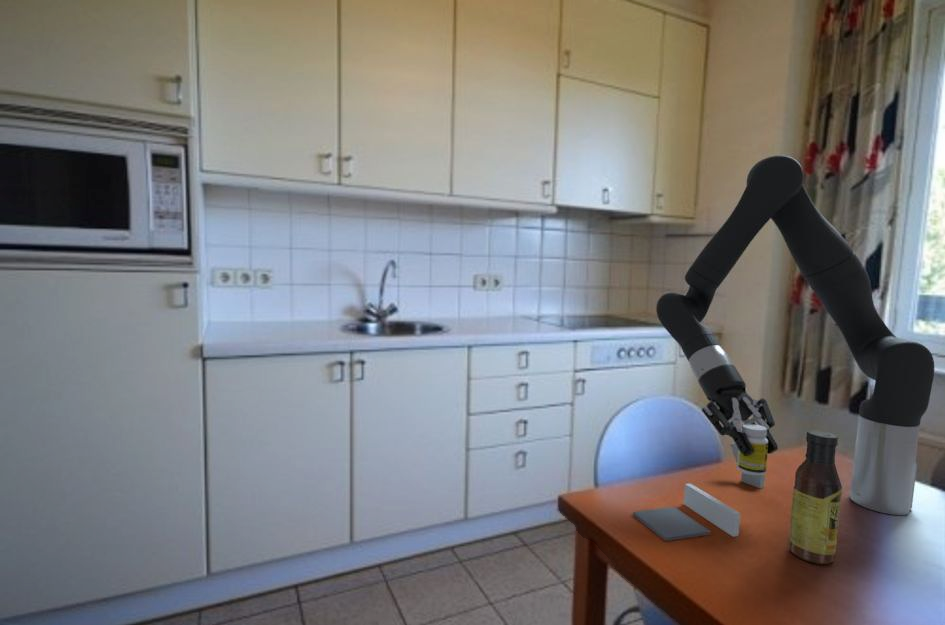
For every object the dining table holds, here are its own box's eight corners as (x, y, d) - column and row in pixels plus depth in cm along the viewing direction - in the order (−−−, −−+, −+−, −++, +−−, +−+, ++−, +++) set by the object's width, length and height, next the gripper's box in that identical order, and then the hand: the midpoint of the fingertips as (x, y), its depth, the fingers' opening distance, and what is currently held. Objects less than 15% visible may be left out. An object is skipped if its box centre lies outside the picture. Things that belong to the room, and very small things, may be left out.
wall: (688, 503, 97) (690, 483, 96) (738, 535, 85) (740, 513, 85) (683, 504, 96) (685, 484, 96) (732, 536, 85) (734, 514, 85)
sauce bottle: (836, 571, 76) (850, 444, 74) (787, 558, 79) (799, 435, 77) (832, 551, 82) (845, 432, 80) (787, 539, 85) (799, 425, 83)
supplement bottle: (769, 477, 90) (773, 431, 89) (741, 474, 91) (744, 429, 90) (760, 467, 95) (763, 423, 94) (733, 464, 96) (736, 421, 95)
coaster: (674, 509, 94) (674, 506, 94) (709, 534, 86) (710, 531, 85) (632, 514, 91) (633, 511, 91) (665, 541, 83) (665, 537, 83)
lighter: (764, 486, 106) (767, 449, 105) (760, 488, 105) (764, 451, 104) (730, 474, 112) (734, 439, 111) (727, 476, 111) (730, 441, 110)
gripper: (696, 364, 96) (742, 447, 86) (755, 361, 100) (806, 440, 90) (676, 385, 102) (717, 465, 91) (733, 381, 106) (778, 458, 96)
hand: (761, 452), depth 91 cm, fingers closed on supplement bottle, 4 cm apart
